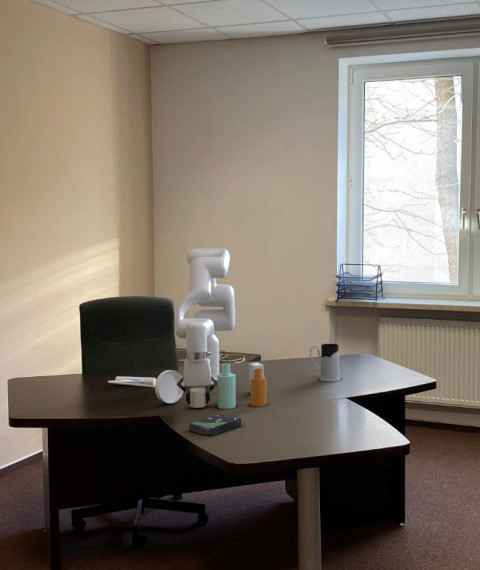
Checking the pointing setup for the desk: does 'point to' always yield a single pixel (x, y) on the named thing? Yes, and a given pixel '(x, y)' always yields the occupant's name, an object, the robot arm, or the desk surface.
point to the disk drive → (214, 424)
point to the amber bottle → (258, 388)
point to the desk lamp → (157, 385)
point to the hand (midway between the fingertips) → (198, 402)
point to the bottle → (226, 388)
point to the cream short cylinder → (197, 397)
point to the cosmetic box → (251, 370)
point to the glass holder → (328, 362)
